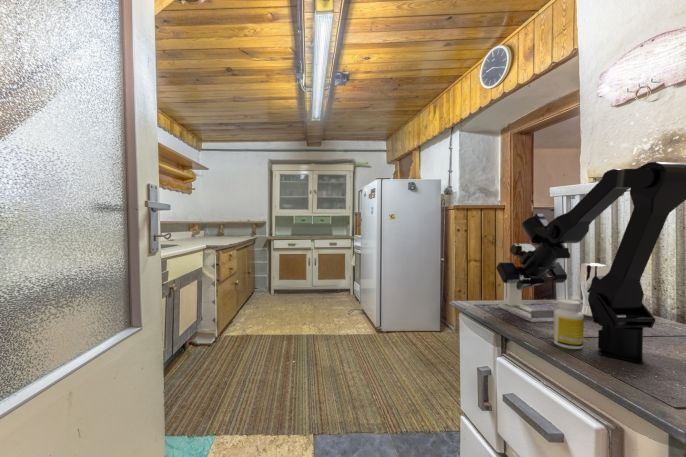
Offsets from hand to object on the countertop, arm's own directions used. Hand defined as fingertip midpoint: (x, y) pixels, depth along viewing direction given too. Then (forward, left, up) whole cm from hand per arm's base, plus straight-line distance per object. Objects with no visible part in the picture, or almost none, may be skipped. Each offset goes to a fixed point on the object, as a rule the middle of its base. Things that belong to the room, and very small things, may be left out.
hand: (518, 288), depth 100 cm
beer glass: (-18, -11, -7) cm, 22 cm away
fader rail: (-2, +2, -7) cm, 8 cm away
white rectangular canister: (+2, -2, -6) cm, 6 cm away
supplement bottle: (-16, +23, -7) cm, 29 cm away
